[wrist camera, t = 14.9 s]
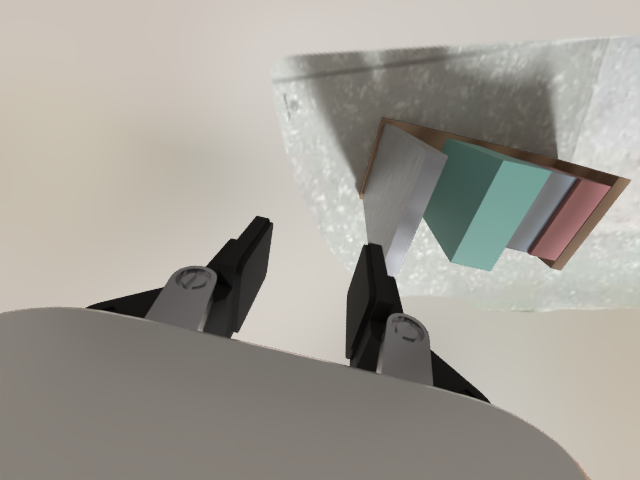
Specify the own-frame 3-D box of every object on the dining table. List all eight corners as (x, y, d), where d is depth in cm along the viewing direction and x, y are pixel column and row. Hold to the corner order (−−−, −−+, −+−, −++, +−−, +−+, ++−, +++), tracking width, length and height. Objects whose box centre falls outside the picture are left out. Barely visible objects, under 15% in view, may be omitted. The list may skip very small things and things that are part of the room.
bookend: (393, 124, 34) (448, 156, 15) (370, 198, 39) (389, 293, 20) (384, 122, 34) (427, 151, 15) (362, 196, 39) (373, 289, 20)
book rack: (558, 159, 35) (631, 180, 26) (513, 231, 41) (560, 270, 31) (382, 117, 35) (393, 123, 26) (359, 195, 40) (361, 223, 31)
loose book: (477, 145, 34) (552, 171, 22) (444, 215, 39) (490, 271, 26) (446, 138, 34) (503, 160, 22) (418, 209, 39) (450, 262, 26)
